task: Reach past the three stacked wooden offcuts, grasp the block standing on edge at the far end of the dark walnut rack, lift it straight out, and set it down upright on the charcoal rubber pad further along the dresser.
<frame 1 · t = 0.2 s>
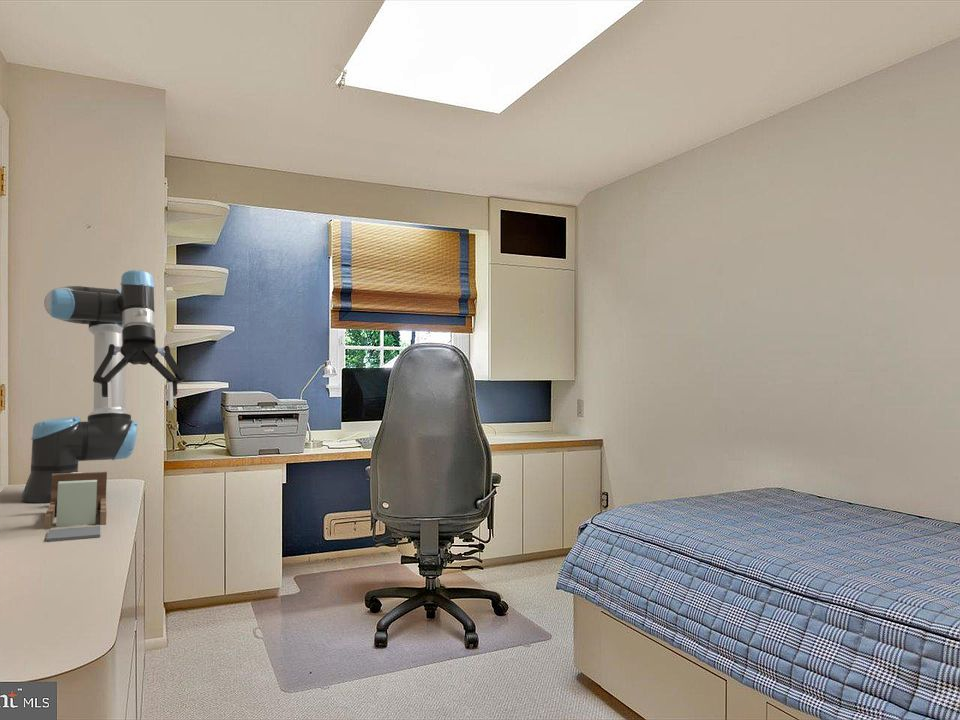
hand: (140, 409, 164), 28 cm above the dresser, tool tilted 20°, fingers open, 13 cm apart
rack: (76, 519, 165), on the dresser
block: (76, 523, 161), on the dresser
offcut stack: (78, 502, 172), in the rack
milkshake: (76, 506, 184), on the dresser
rubber pad: (74, 534, 148), on the dresser
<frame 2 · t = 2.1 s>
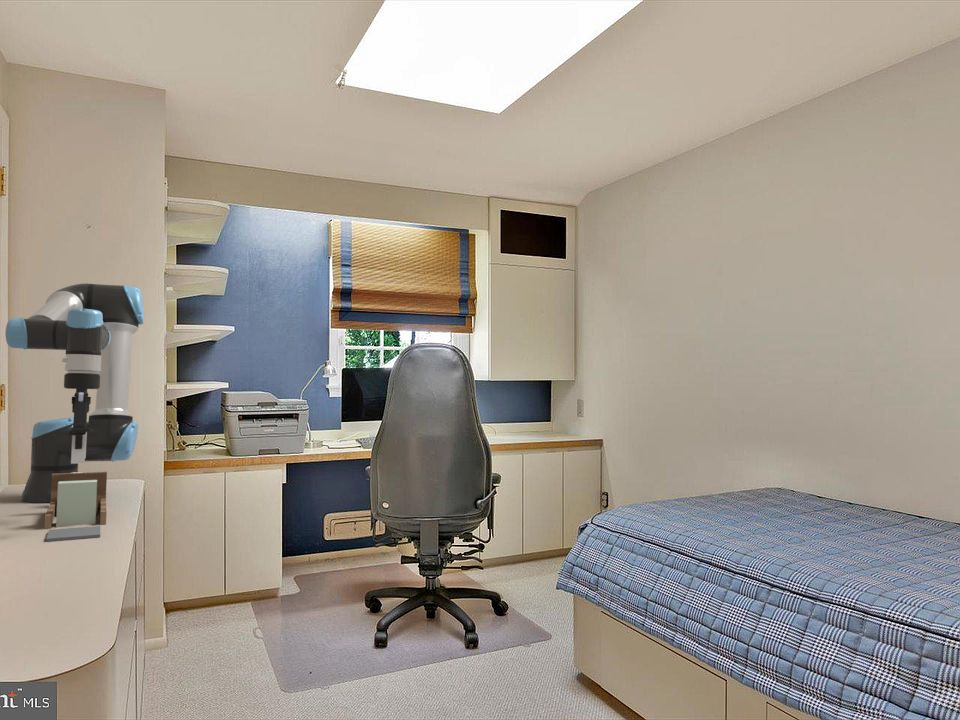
hand: (78, 460, 161), 15 cm above the dresser, tool pointing down, fingers open, 13 cm apart
nothing on the dresser moved.
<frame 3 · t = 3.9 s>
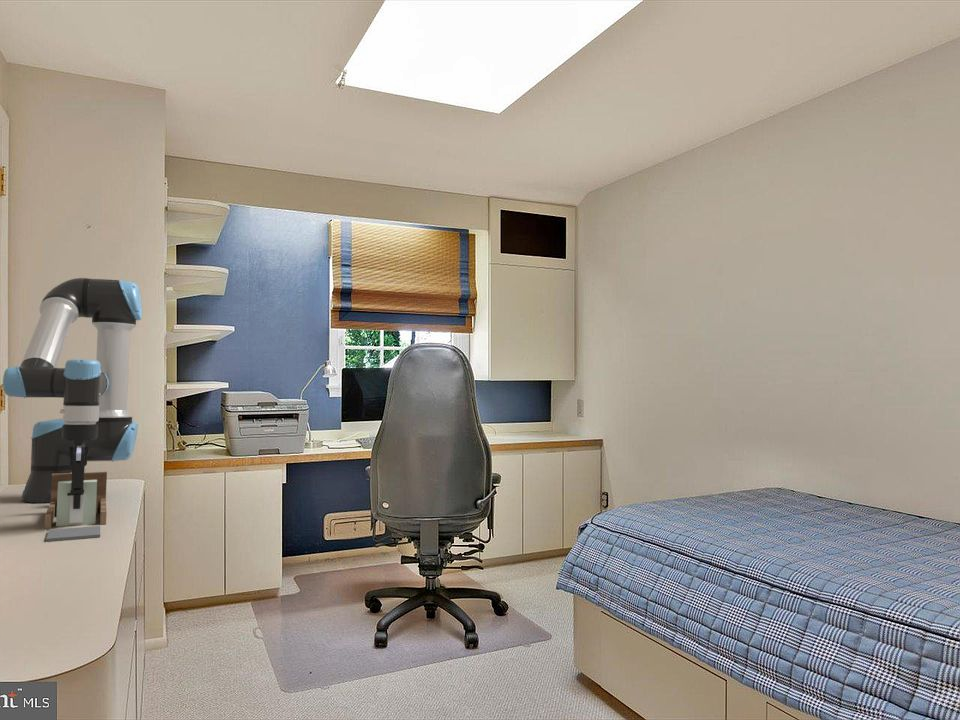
hand: (76, 520, 161), 1 cm above the dresser, tool pointing down, fingers closed on block, 4 cm apart
block: (76, 523, 161), on the dresser, touching gripper
everything else where it was.
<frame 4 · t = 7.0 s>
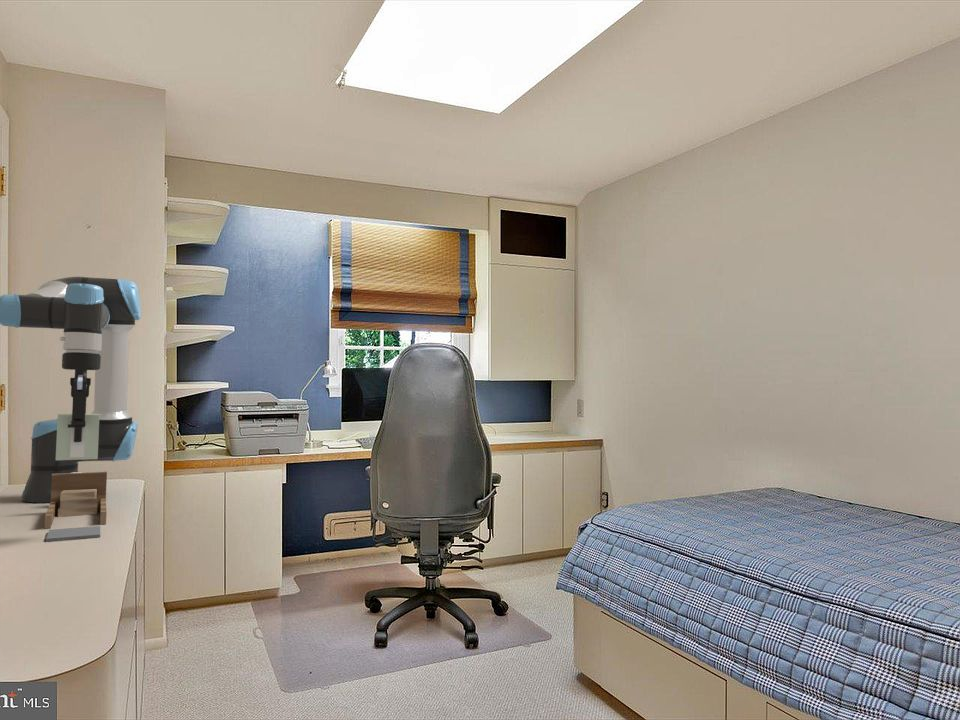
hand: (77, 455, 150), 17 cm above the dresser, tool pointing down, fingers closed on block, 4 cm apart
block: (77, 458, 150), point 17 cm above the dresser, touching gripper
everything else where it was.
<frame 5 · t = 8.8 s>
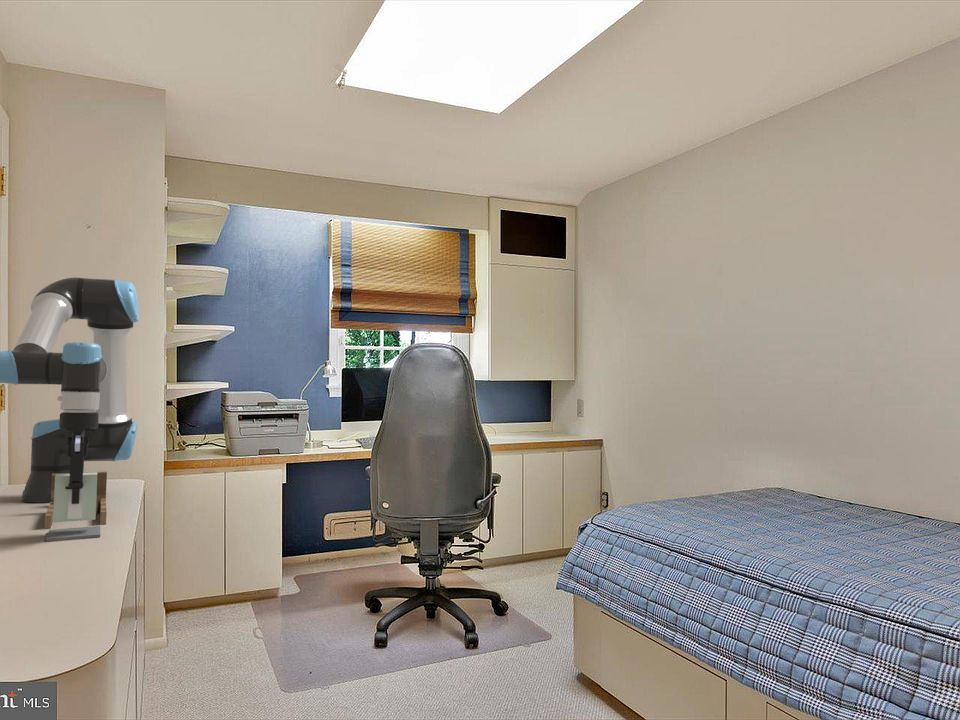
hand: (75, 516, 149), 4 cm above the dresser, tool pointing down, fingers closed on block, 4 cm apart
block: (74, 519, 148), point 3 cm above the dresser, touching gripper
everything else where it was.
when the fingers open (2 cm above the dresser, at t = 10.2 s): block stays where it is, resting on rubber pad.
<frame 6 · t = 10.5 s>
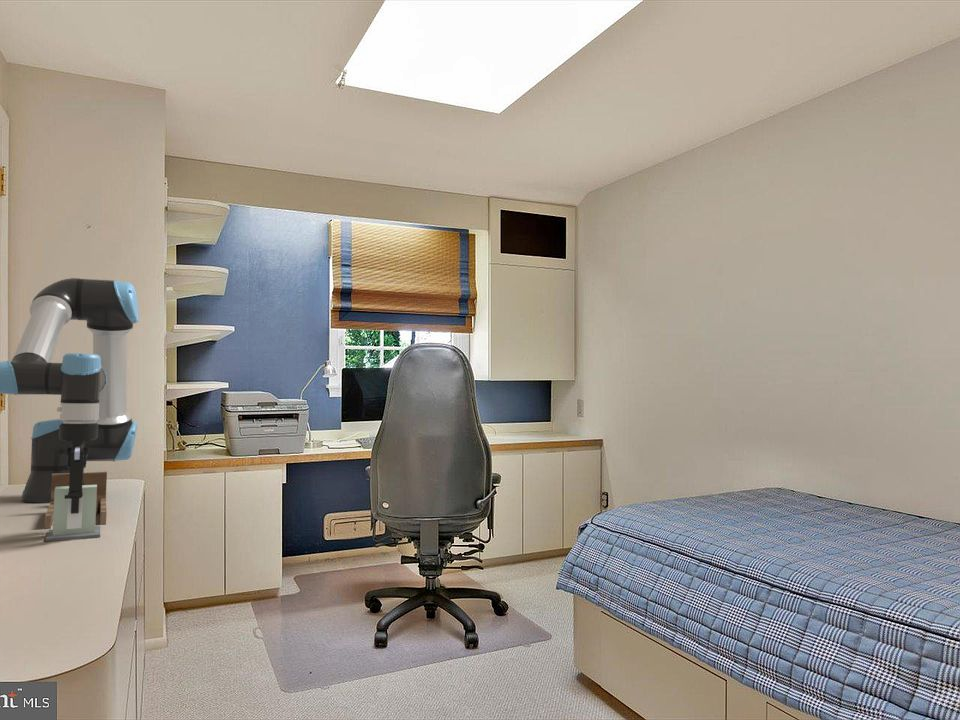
hand: (74, 524, 149), 2 cm above the dresser, tool pointing down, fingers open, 8 cm apart
block: (74, 532, 149), point 1 cm above the dresser, touching rubber pad
everything else where it was.
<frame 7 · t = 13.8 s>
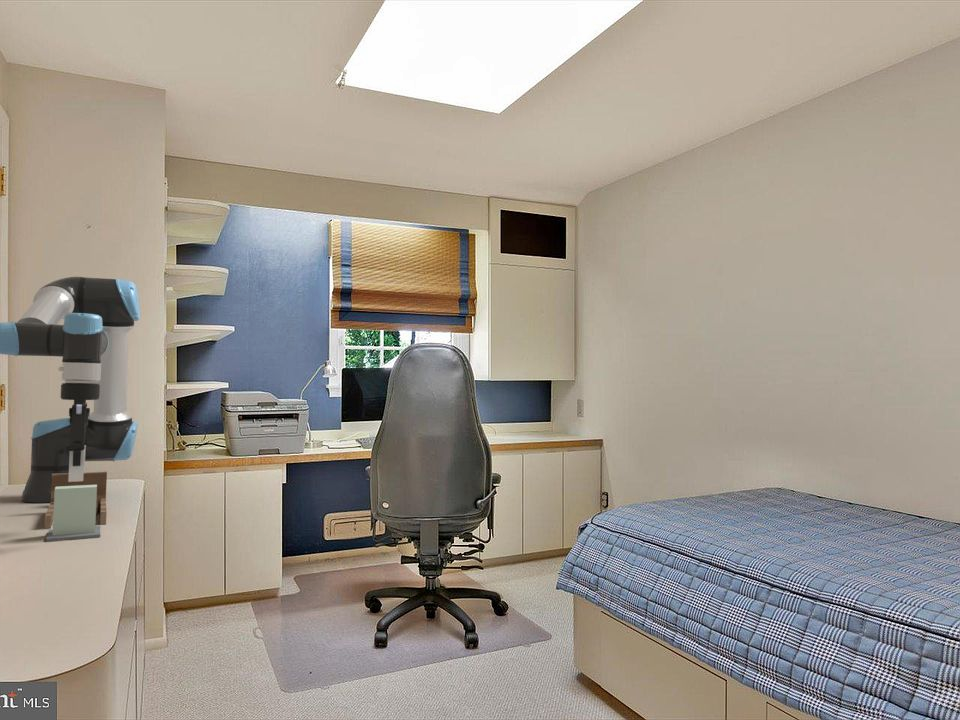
hand: (76, 477, 149), 13 cm above the dresser, tool pointing down, fingers open, 13 cm apart
nothing on the dresser moved.
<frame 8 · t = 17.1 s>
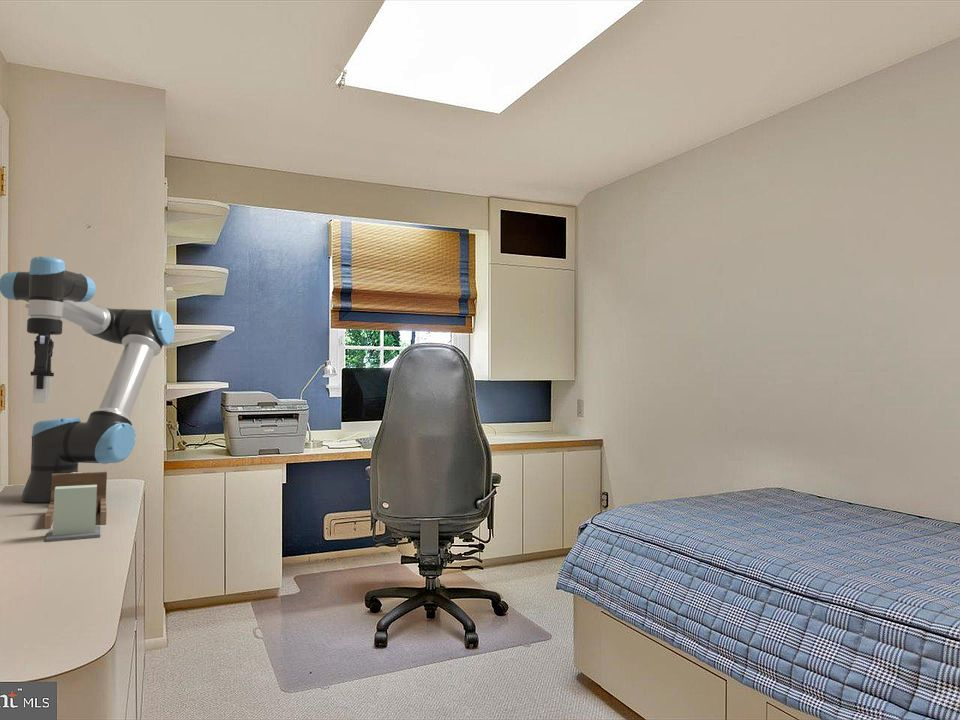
hand: (41, 402, 169), 29 cm above the dresser, tool pointing down, fingers open, 13 cm apart
nothing on the dresser moved.
at the end: block inside the target area on the rubber pad (0.0 cm from its centre), point 0.6 cm above the rubber pad's base; block tilted 0°; the gripper is holding nothing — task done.
